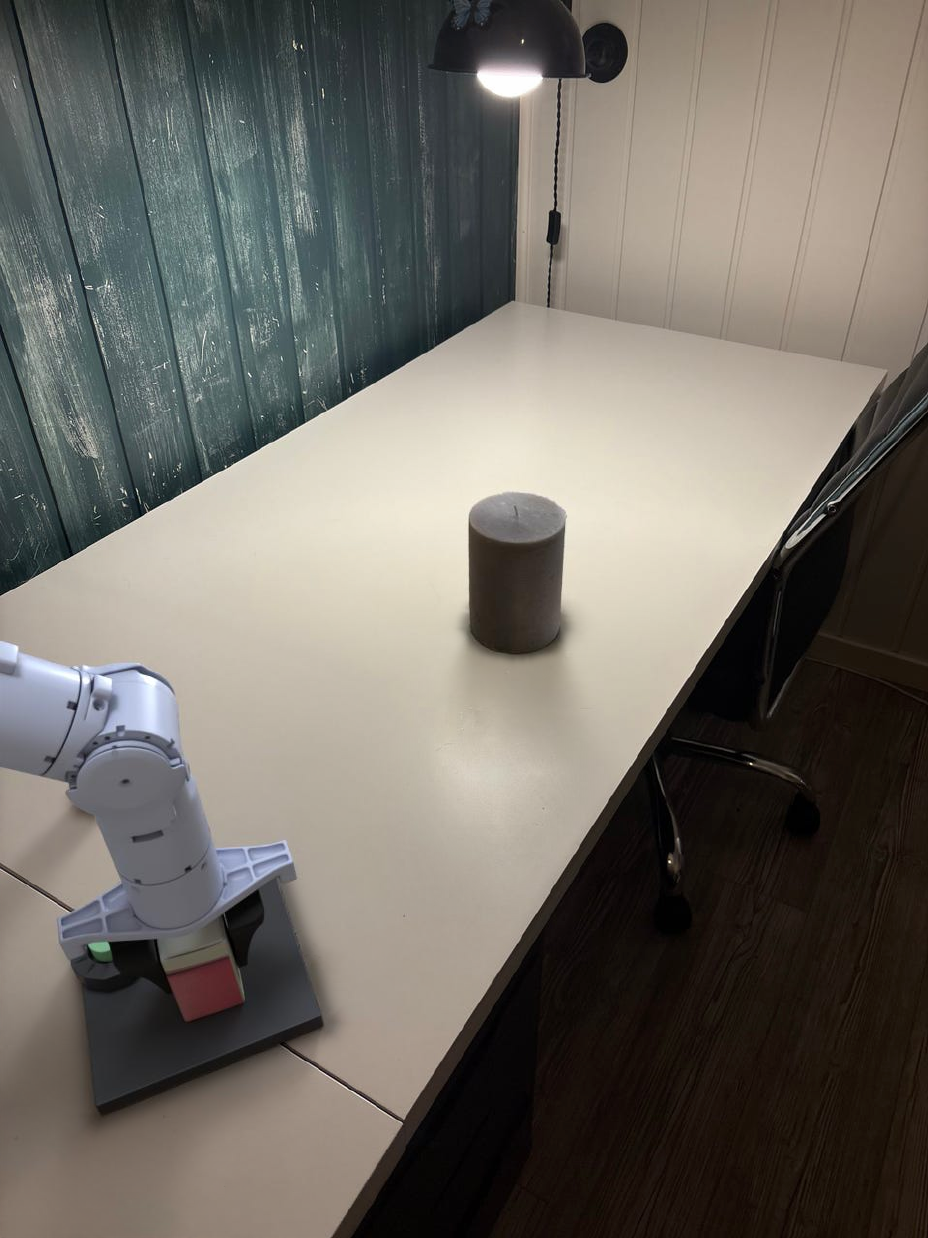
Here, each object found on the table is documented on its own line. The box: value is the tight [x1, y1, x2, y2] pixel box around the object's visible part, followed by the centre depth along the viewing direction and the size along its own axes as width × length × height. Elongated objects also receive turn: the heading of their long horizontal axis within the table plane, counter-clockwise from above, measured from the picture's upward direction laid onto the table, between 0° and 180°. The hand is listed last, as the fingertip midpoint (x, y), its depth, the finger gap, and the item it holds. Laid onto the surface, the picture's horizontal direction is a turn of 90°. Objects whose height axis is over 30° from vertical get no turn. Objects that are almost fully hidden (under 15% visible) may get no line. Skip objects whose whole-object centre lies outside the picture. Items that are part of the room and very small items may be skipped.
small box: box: [157, 913, 245, 1022], centre depth 63 cm, size 5×4×8 cm
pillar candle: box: [467, 490, 568, 654], centre depth 94 cm, size 10×10×15 cm
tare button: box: [88, 942, 112, 962], centre depth 66 cm, size 3×3×1 cm
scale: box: [69, 878, 324, 1116], centre depth 65 cm, size 15×13×3 cm
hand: (205, 967), depth 64 cm, fingers closed on small box, 4 cm apart
